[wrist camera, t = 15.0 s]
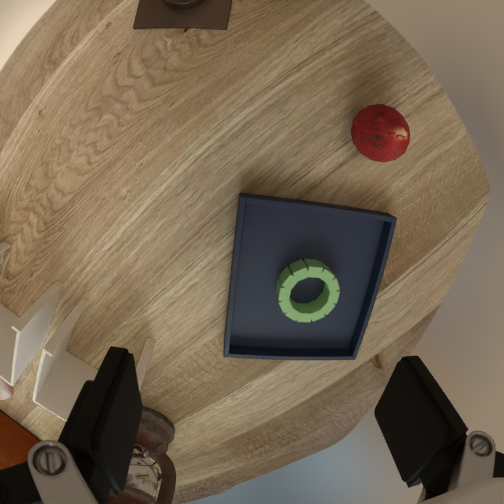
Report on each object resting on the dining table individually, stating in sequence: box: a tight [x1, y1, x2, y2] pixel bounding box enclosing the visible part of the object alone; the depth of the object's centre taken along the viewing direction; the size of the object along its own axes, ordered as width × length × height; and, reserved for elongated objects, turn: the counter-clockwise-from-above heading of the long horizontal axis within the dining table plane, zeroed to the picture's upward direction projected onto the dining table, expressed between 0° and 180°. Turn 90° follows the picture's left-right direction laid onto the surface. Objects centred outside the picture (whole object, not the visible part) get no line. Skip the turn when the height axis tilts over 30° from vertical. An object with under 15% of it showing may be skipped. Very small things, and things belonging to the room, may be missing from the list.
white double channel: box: [0, 241, 155, 421], centre depth 30 cm, size 25×11×11 cm, turn 55°
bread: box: [0, 411, 40, 470], centre depth 40 cm, size 17×24×15 cm
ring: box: [276, 258, 340, 322], centre depth 34 cm, size 7×7×2 cm
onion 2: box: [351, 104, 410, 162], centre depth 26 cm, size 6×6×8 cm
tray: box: [224, 193, 397, 360], centre depth 35 cm, size 17×19×2 cm
